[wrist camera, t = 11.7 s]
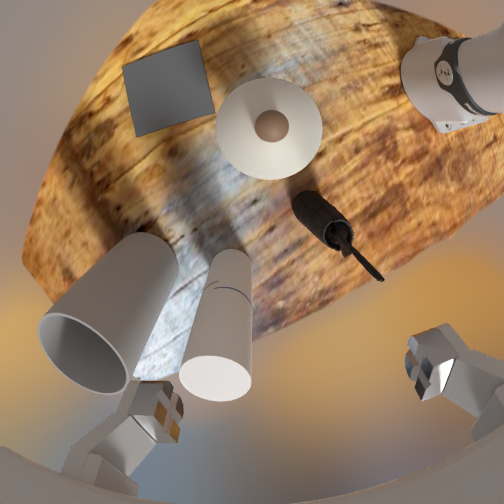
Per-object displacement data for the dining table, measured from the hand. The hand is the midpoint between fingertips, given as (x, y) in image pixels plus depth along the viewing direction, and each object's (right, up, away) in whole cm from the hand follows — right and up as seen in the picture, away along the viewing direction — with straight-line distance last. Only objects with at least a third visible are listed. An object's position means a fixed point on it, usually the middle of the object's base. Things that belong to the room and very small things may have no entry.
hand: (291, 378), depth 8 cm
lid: (0, +17, +19) cm, 25 cm away
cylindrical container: (-5, +1, +40) cm, 40 cm away
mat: (-15, +29, +28) cm, 43 cm away
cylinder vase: (-20, +2, +40) cm, 45 cm away
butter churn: (+8, +11, +36) cm, 38 cm away
